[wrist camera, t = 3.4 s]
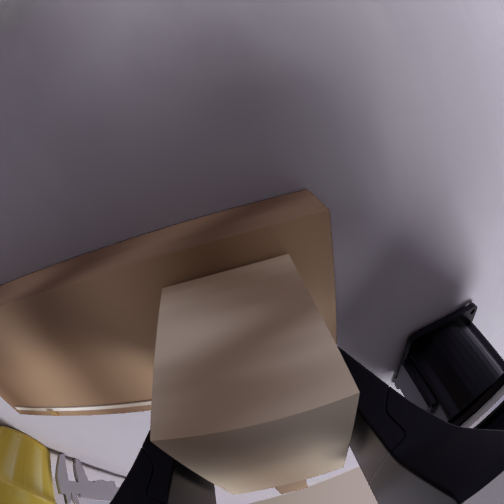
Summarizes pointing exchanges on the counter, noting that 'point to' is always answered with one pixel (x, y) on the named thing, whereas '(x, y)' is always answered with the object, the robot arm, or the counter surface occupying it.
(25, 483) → the plant pot
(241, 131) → the counter surface
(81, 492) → the caliper
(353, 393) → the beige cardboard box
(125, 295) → the walnut board
